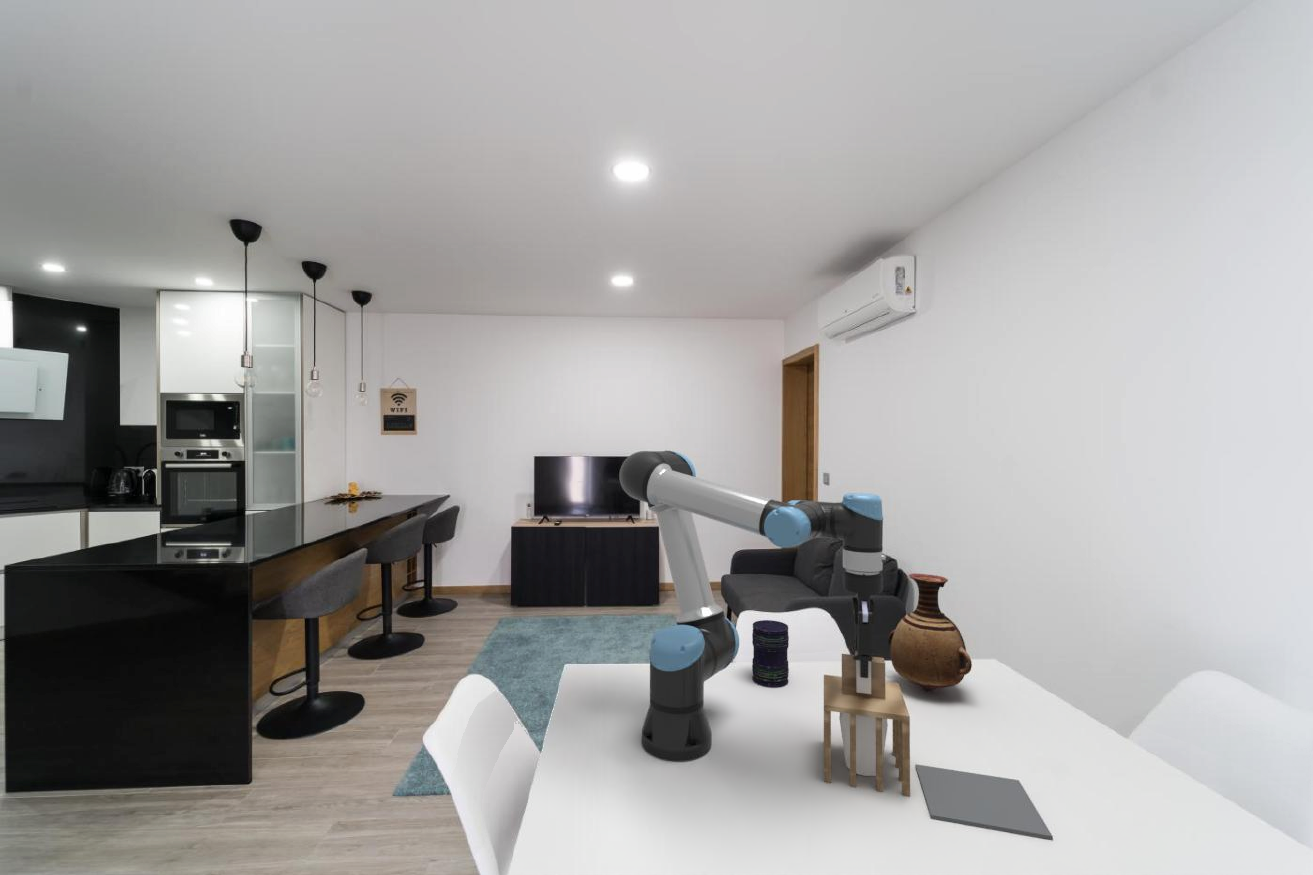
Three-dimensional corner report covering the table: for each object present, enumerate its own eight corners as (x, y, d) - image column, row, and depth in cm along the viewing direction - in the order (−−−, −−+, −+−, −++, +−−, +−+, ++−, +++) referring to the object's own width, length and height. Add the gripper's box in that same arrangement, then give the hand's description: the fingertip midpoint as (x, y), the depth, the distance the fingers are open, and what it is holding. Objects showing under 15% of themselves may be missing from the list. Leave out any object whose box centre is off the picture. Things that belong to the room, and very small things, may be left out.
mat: (930, 818, 95) (930, 814, 95) (915, 767, 110) (915, 764, 110) (1052, 839, 90) (1052, 836, 90) (1018, 783, 105) (1018, 780, 105)
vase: (872, 678, 153) (872, 570, 154) (925, 671, 159) (924, 566, 159) (932, 713, 133) (931, 588, 133) (990, 703, 138) (989, 583, 139)
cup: (892, 783, 105) (892, 719, 105) (842, 777, 107) (842, 714, 107) (882, 757, 114) (882, 698, 114) (836, 752, 115) (836, 694, 116)
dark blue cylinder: (767, 670, 159) (767, 617, 159) (796, 681, 151) (796, 626, 151) (744, 679, 152) (744, 624, 153) (773, 691, 145) (773, 633, 145)
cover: (824, 781, 105) (824, 668, 106) (823, 742, 119) (823, 642, 120) (910, 796, 101) (909, 677, 101) (898, 753, 115) (898, 649, 116)
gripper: (887, 581, 102) (888, 709, 102) (878, 564, 118) (879, 675, 117) (844, 578, 104) (845, 703, 104) (841, 561, 120) (841, 671, 119)
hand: (863, 688), depth 110 cm, fingers closed on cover, 3 cm apart
